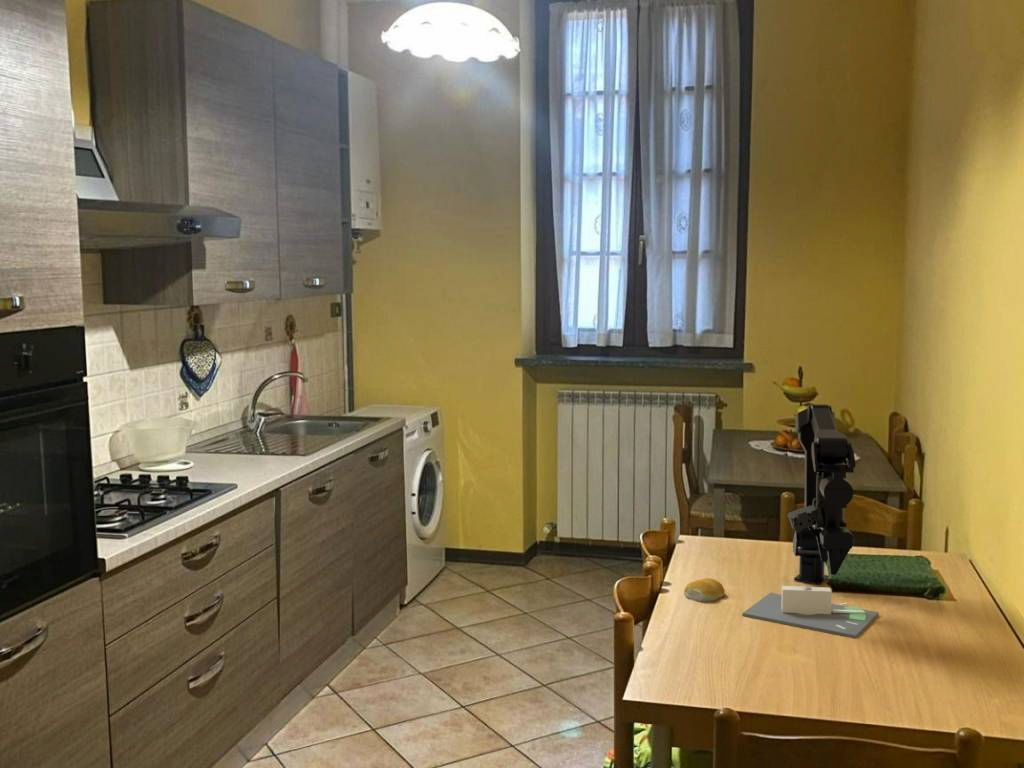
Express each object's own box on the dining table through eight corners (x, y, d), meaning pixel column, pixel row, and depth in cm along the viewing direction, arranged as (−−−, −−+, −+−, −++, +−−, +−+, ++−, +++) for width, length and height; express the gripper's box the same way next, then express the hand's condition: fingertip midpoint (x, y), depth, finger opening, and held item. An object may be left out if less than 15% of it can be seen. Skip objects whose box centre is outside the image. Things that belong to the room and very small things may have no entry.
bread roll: (730, 595, 231) (730, 578, 230) (708, 605, 224) (709, 587, 224) (699, 587, 236) (699, 570, 236) (677, 597, 230) (677, 580, 229)
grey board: (773, 592, 231) (774, 589, 231) (881, 612, 217) (881, 608, 217) (742, 615, 217) (742, 612, 216) (855, 638, 203) (856, 634, 203)
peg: (781, 608, 219) (781, 585, 218) (863, 611, 216) (863, 587, 215) (782, 612, 216) (782, 588, 215) (865, 615, 213) (866, 591, 213)
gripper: (783, 485, 223) (782, 555, 225) (799, 505, 205) (798, 580, 206) (835, 486, 222) (833, 555, 224) (856, 506, 203) (854, 581, 205)
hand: (828, 567), depth 215 cm, fingers open, 9 cm apart
